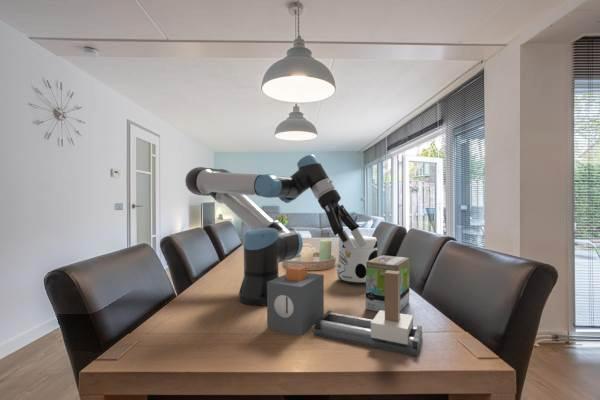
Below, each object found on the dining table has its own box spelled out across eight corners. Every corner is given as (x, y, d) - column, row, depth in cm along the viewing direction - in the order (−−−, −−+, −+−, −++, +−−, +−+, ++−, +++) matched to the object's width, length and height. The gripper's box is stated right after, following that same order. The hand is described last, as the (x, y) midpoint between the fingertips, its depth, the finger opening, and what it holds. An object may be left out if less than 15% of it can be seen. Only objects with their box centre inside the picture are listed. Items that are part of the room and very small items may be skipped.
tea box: (398, 316, 89) (398, 264, 89) (364, 310, 94) (364, 261, 94) (410, 301, 101) (410, 256, 101) (380, 296, 107) (379, 253, 107)
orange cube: (286, 282, 83) (286, 268, 84) (293, 279, 87) (293, 265, 87) (300, 284, 82) (299, 269, 82) (306, 281, 85) (306, 266, 85)
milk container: (328, 281, 127) (327, 237, 127) (354, 274, 139) (353, 234, 139) (362, 290, 115) (362, 241, 115) (388, 281, 126) (388, 237, 126)
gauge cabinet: (266, 328, 80) (266, 282, 80) (293, 311, 93) (292, 271, 93) (300, 336, 76) (300, 287, 76) (323, 316, 88) (323, 274, 88)
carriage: (370, 337, 70) (370, 274, 70) (380, 323, 79) (379, 266, 79) (407, 344, 67) (407, 278, 67) (413, 328, 75) (413, 269, 75)
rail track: (314, 334, 76) (314, 322, 76) (329, 320, 85) (329, 309, 85) (417, 356, 65) (417, 342, 65) (422, 338, 74) (422, 325, 74)
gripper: (320, 185, 95) (356, 246, 90) (346, 190, 118) (376, 239, 112) (302, 199, 98) (335, 258, 92) (330, 201, 120) (359, 249, 115)
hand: (358, 248), depth 102 cm, fingers open, 13 cm apart
